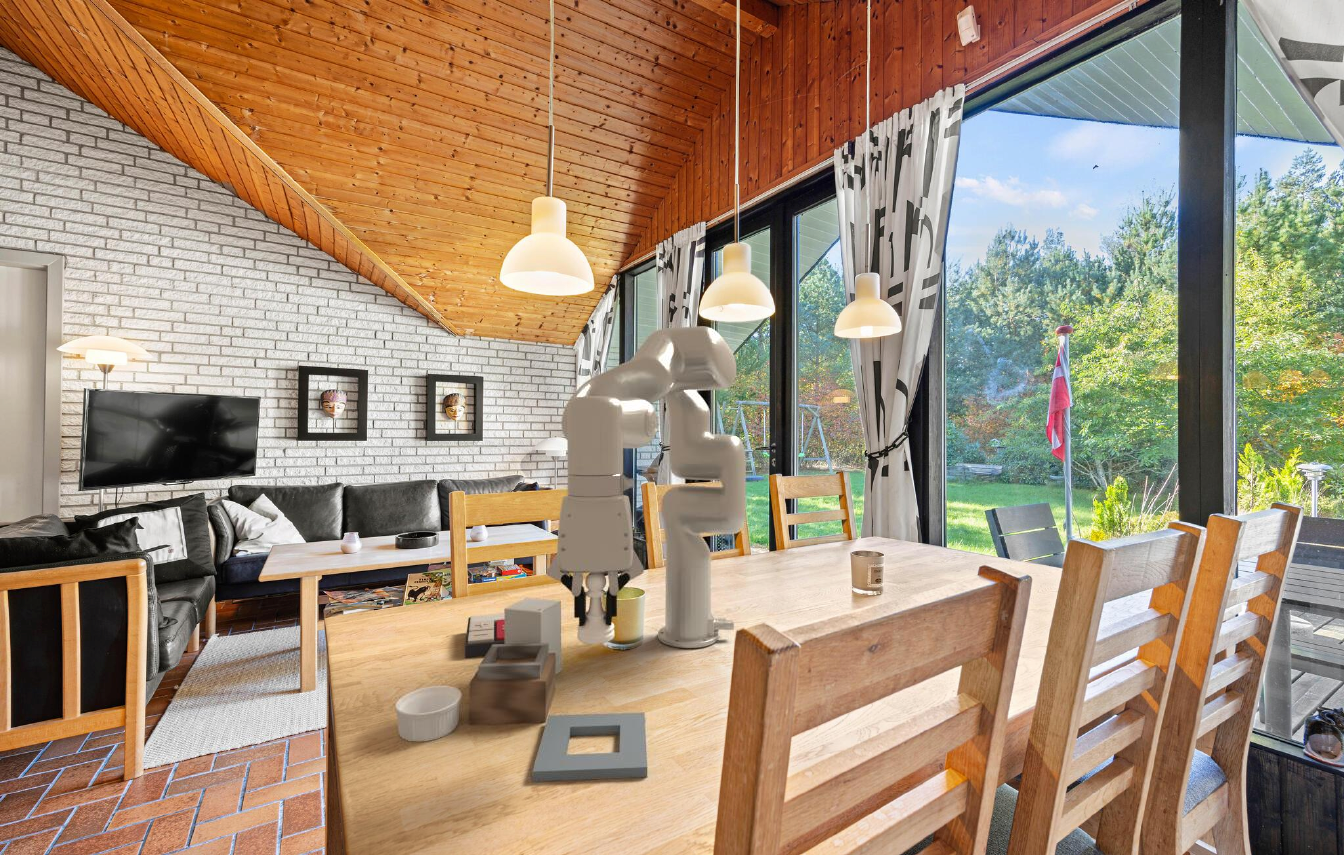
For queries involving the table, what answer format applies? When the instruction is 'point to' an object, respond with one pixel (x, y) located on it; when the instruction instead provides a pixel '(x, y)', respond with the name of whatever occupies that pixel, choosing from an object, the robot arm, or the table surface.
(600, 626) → the chess pawn
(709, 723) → the table surface
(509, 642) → the supplement box
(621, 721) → the board
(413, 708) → the ramekin
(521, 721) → the riser socket
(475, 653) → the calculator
